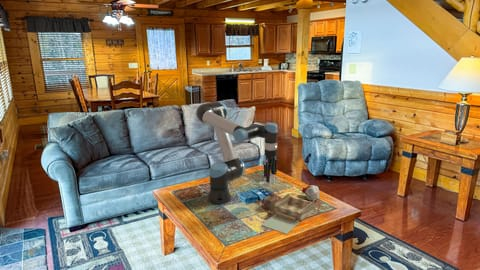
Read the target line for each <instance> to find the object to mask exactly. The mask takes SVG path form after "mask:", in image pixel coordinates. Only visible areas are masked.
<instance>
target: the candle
mask: <svg viewBox="0 0 480 270" xmlns="http://www.w3.org/2000/svg"><path fill="white" fill-rule="evenodd" d="M301 193H303V194H304V195H305V196H306V199H307V201H308V200H309V201H311V202H313V201H316V200H319V198H320V189H319V187H318V186H317V185H315V184H311V185H307V186H306V187H302V189H301Z"/></svg>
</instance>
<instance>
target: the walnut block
mask: <svg viewBox="0 0 480 270" xmlns="http://www.w3.org/2000/svg"><path fill="white" fill-rule="evenodd" d="M277 201H278V197H276V196H272V195H268V196H266V197H265V198H263V209H266V210H270V211H274V203H276V202H277Z"/></svg>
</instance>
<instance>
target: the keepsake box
mask: <svg viewBox="0 0 480 270" xmlns="http://www.w3.org/2000/svg"><path fill="white" fill-rule="evenodd" d="M315 201H316V200H315ZM315 201H311V200H309V201H308V200H305V199H302V198H300V197H299V198H298V197H295V196H291V195H290V193H287V194H286V195H284V196H283V197H281V198H279V199H278V200H277V202H276V203H274V209H273V213H274V214H276V212H280V213H283V214H286V215H289V216H292V217H295V218H296V220H298V221H300V223H302V222H303V221H304V220H305V219H306V218H308V217H309V216H310V215H311V214H312V213H313V212H314V211H315Z"/></svg>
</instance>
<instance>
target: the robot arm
mask: <svg viewBox="0 0 480 270" xmlns="http://www.w3.org/2000/svg"><path fill="white" fill-rule="evenodd" d="M228 112H229V111H228V107H227V105H226V104H225V103H224V102H222V101H213V102H207V103H203V104H200V105H199V106H198V107H197V109H196V111H195V115H196V118H197V119H198V121H199V122H200V123H202V124H205V125H210V126H213V129H214V132H215V136H216V139H217V142H218V145H219V148H220V151H221V156H222V162H219V163H215V164H213V165H212V166H210V168H209V185H210V186H209V187H210V189H209V191H208V195H207V201H208V202H209V204H210V203H211V204H213V205H224V204H227V203H229V202H231V200H232V195H231V192H230V191H229V189H230V188H229V182H231V181H234V180H237V179H239V178H242V177H243V176H244V174H245V172H246V165H245V163H244V161H243V160H242V159H240V158H239V157H238V156H237V155H236V153H235V149H234V146H233V143H232V139H231V137H233V140H235V142H237V143H243V142H246V141H249V140H250V141H251V140H253V139H255V138H262V139H264V146H263V147H264V156H265V161H263V162H262V163H263V178H264V177H265V182H266V183H265V184H266V187H267V188H271V187H272V186H274V185H275V184H276V183H275V181H276V180H275V179H276V178H275V177H276V176H275V175H277V174H278V173H277V172H278V160H279V157H278V132H279V131H278V124H277V123H275V122H266V123H264V124H259V123H250V124H249V125H248V126H245V127H244V126H242V125H241V124H240V125H239V124H237V123H235V122H233V121H231V120H229V119H228V118H227V116H228Z"/></svg>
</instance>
